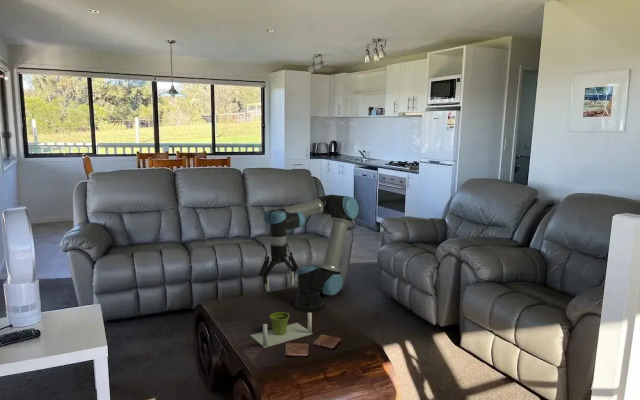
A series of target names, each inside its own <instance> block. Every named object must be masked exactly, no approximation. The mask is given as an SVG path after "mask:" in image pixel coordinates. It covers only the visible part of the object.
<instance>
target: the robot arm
mask: <svg viewBox="0 0 640 400" xmlns="http://www.w3.org/2000/svg"><path fill="white" fill-rule="evenodd" d="M359 209H360V208H359V204H358V201H357V199H356V198H354V197H352V196H348V195H340V194H339V195H338V194H327V195H323V196H318V197H315V198H312V199H311V200H310V201H307V202H306V201H305V202H302V203H298V204H294V205H290V206H285V207H282V208H278V209H273V208H271V209H270V208H269V209H267V210H266V211H265V212H264V215H263V220H264V222H265V223H266V224H269V229H270V230H269V231H270V232H269V235H270V255H264V261H263V263H262V266H261V269H260V271H259V273H258V275H259V277H262V280H263V281H262V282H263V284H264V290H266V291H268V292H269V291H270V277H269V275H270V273H271V271H272V270H273V269H274V267H275V266H276V265H279V264H283V263H284V264H285V265H286V266H287V267H288V268H289V270H288V271H289V273H288V274H289V279H288V280H289V284H290V285H292V286H294V284H295V282H294V281H295V279H294V278H295V277H296V272H297V295H296V297H295V301H294V306H295V309H297V310H301V311H309V312H310V311H315V310H319V309H321V308H322V306H323V301H322V298H321V296H320V293H321V294H324V295H326V296H327V295H328V296H335V295H336V294H338V293H339V292H340V290H342V287H343V282H344V281H343V276H341V269H340V263H341V258H342V254H343V250H344V245H345V241H346V240H345V239H346V235H347V232H348V227H349V225H350V224H352V221H353V219H356V217H358V214H359V211H360V210H359ZM313 215H316V216H321V215H326V216H327V215H328V216H330V219H331V220H332V223H331V228H330V233H329V237H328V242H327V245H326V246H327V247H326V250H325V254H324V259H323V262H322V263H323V264H322V265H320V266H319V265H318V264H305V265H302V266H300V267H299V266H298V264H297V262H296V260H295V258H294V256H293V252H291V251H290V250H289V251H288V250H287V247H288V246H287V243H288V242H287V231H288V230H292V229H293V230H294V229H299V228H300V227H303V226H304V225H305V223H306V217H309V216H313ZM287 257H288V259H289V260H288V259H287ZM289 261H290V262H289Z"/></svg>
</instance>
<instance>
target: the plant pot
mask: <svg viewBox="0 0 640 400" xmlns="http://www.w3.org/2000/svg"><path fill="white" fill-rule="evenodd" d="M269 318H270V321H271V324H272V329H273V332H274V334H275V335H282V334H285V333H286V330H287V325H288V321H289V318H290V314H289V313H288V312H283V311H277V312H274V313H271V314H270V315H269Z"/></svg>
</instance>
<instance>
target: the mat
mask: <svg viewBox="0 0 640 400" xmlns="http://www.w3.org/2000/svg"><path fill="white" fill-rule="evenodd" d="M312 315H313V313H312V312H310V311H309V312H307V328H306V327H304V326H303V325H301V324H300V323H298V322H293V323H290V324H287V330H286V333H285V334H282V335H275V334H274V332H273V328H270V329H268V324H267V323H263V324H262V331H260V332H259V331H258V332H256V333H252V334H249V336H250V338H252V339H253V340H254V341H255V342H257V343H258V344H259V345H260V346H261V347H262V348H263V349H265V348H269V347H273V346H276V345H279V344H284V343H286V342H290V341H293V340H296V339H300V338H303V337H307V336H310V335H313V331H312V330H313V327H312V325H313V324H312V323H313V322H312V320H313V317H312Z"/></svg>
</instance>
